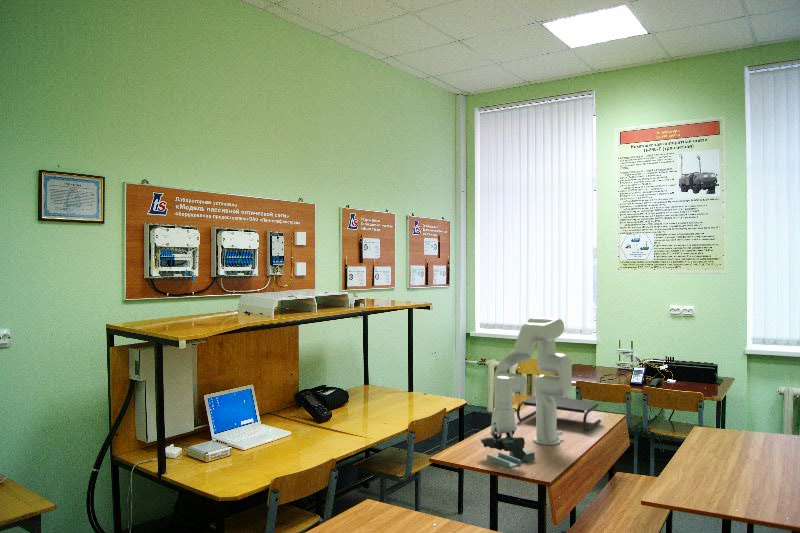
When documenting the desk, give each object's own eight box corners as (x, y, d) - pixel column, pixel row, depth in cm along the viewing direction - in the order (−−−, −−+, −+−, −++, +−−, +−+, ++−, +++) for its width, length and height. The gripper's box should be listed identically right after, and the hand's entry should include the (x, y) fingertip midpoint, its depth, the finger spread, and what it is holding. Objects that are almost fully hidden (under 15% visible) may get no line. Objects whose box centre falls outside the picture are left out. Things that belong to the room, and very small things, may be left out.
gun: (523, 457, 234) (516, 432, 237) (486, 463, 247) (479, 439, 250) (529, 454, 237) (522, 430, 240) (492, 460, 250) (486, 437, 253)
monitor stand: (601, 422, 309) (601, 402, 309) (585, 434, 286) (585, 412, 286) (535, 412, 330) (535, 394, 330) (516, 423, 307) (516, 403, 307)
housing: (517, 454, 254) (517, 446, 254) (534, 460, 245) (534, 452, 246) (508, 456, 251) (508, 448, 251) (525, 462, 242) (525, 454, 242)
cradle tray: (499, 456, 251) (499, 452, 251) (520, 464, 240) (520, 460, 240) (486, 459, 247) (486, 455, 247) (508, 468, 236) (508, 463, 236)
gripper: (511, 401, 252) (511, 442, 251) (482, 406, 242) (482, 449, 242) (524, 404, 245) (524, 446, 245) (494, 409, 236) (495, 454, 236)
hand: (503, 447), depth 244 cm, fingers closed on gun, 5 cm apart
